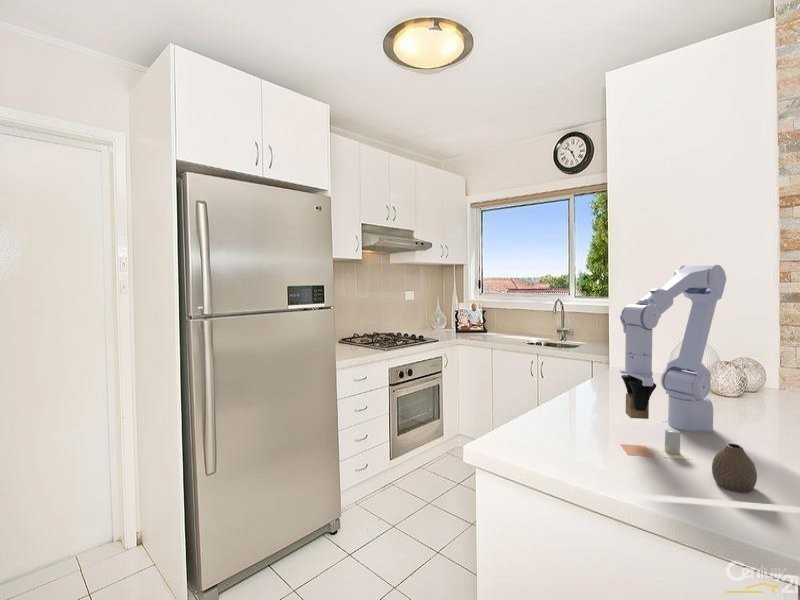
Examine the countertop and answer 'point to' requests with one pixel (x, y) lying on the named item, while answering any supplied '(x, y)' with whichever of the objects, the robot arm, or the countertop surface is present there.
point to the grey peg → (672, 441)
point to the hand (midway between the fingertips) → (637, 407)
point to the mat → (644, 451)
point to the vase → (734, 469)
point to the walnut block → (632, 411)
